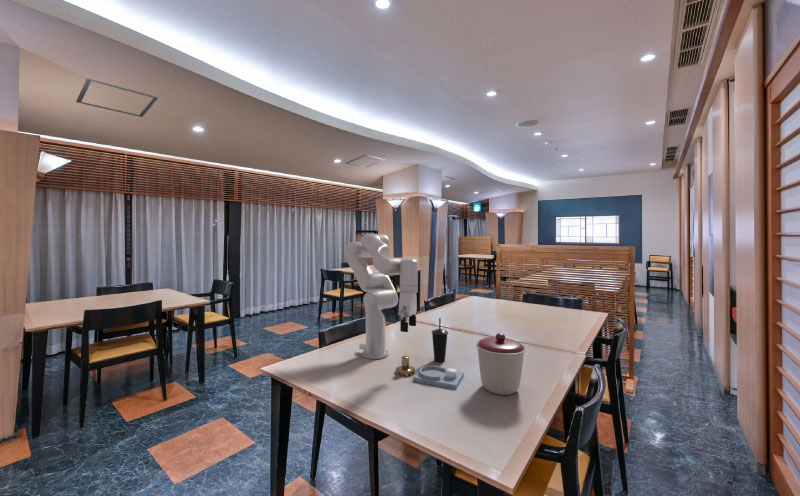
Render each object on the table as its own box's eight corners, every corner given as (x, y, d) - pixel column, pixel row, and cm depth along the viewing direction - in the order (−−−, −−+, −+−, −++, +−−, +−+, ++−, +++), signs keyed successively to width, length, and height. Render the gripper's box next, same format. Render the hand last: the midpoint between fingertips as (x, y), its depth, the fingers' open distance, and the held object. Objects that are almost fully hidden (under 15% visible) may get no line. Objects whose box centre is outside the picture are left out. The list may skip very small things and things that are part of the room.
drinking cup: (447, 364, 146) (447, 320, 146) (430, 363, 148) (430, 319, 147) (448, 358, 154) (448, 316, 153) (432, 357, 155) (432, 315, 155)
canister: (519, 405, 110) (520, 344, 110) (468, 392, 120) (469, 335, 119) (529, 385, 126) (530, 331, 125) (483, 375, 135) (484, 324, 135)
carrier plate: (413, 380, 129) (413, 371, 129) (423, 369, 141) (423, 359, 141) (456, 389, 122) (456, 378, 122) (463, 375, 134) (464, 366, 134)
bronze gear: (392, 374, 136) (392, 359, 136) (400, 367, 143) (400, 352, 143) (410, 377, 132) (410, 362, 132) (417, 370, 140) (417, 355, 140)
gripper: (407, 285, 146) (407, 322, 147) (392, 290, 130) (392, 333, 131) (423, 286, 144) (423, 324, 144) (409, 292, 128) (409, 335, 128)
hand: (408, 328), depth 138 cm, fingers open, 9 cm apart
